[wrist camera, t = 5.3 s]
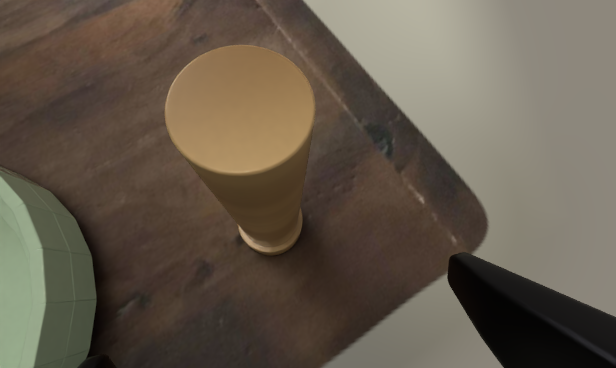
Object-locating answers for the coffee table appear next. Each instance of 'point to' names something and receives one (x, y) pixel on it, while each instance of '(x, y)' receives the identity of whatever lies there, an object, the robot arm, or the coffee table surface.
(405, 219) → the coffee table surface
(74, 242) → the bowl
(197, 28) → the coffee table surface
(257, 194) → the tan wooden cylinder
